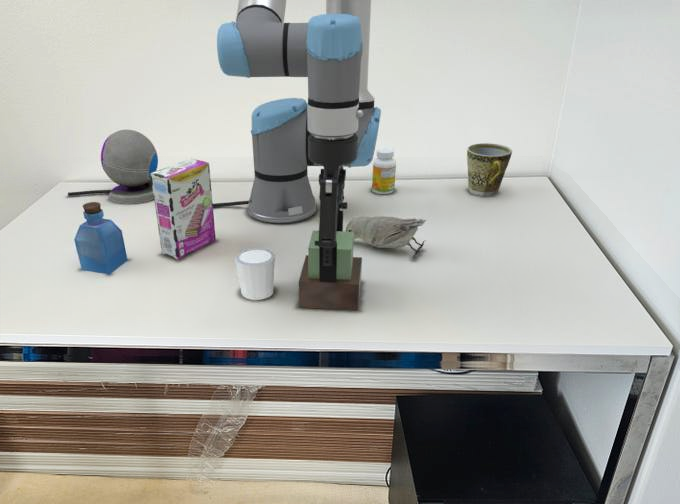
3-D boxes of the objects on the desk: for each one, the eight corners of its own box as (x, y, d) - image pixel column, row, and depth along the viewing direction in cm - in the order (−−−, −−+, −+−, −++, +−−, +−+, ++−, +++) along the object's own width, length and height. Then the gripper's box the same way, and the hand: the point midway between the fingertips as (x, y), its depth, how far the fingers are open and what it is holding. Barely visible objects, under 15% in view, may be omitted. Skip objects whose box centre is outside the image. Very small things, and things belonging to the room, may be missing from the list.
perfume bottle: (127, 260, 120) (115, 201, 113) (109, 274, 115) (96, 213, 108) (100, 256, 122) (87, 197, 115) (81, 269, 117) (66, 209, 110)
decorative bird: (351, 236, 127) (352, 202, 123) (426, 251, 121) (430, 215, 117) (340, 247, 123) (341, 211, 119) (418, 262, 118) (422, 225, 113)
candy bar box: (179, 261, 119) (167, 178, 110) (161, 255, 122) (148, 173, 112) (218, 241, 127) (210, 161, 117) (200, 235, 129) (191, 156, 120)
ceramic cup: (456, 185, 151) (461, 144, 145) (495, 183, 152) (502, 142, 146) (473, 205, 141) (480, 161, 135) (516, 202, 141) (524, 159, 136)
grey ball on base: (121, 183, 156) (109, 122, 147) (169, 185, 154) (160, 123, 145) (100, 202, 145) (86, 137, 136) (152, 204, 144) (141, 139, 135)
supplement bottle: (370, 187, 151) (371, 147, 145) (391, 186, 151) (394, 146, 146) (373, 195, 147) (376, 154, 141) (396, 194, 147) (399, 153, 141)
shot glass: (271, 303, 106) (269, 266, 101) (233, 299, 107) (229, 263, 103) (280, 284, 111) (279, 248, 107) (244, 281, 112) (241, 246, 108)
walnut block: (299, 307, 104) (298, 281, 101) (306, 279, 112) (305, 254, 109) (358, 310, 103) (359, 284, 100) (361, 282, 111) (362, 257, 108)
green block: (308, 278, 102) (308, 247, 99) (313, 259, 108) (312, 230, 105) (350, 280, 101) (351, 249, 98) (353, 261, 107) (354, 231, 104)
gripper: (353, 159, 82) (348, 299, 94) (362, 112, 102) (357, 233, 114) (297, 158, 82) (300, 297, 95) (316, 112, 102) (317, 231, 115)
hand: (331, 262), depth 104 cm, fingers open, 13 cm apart
